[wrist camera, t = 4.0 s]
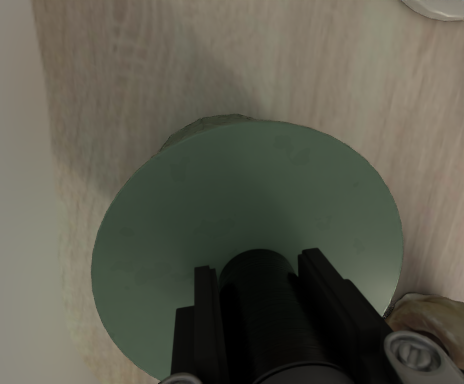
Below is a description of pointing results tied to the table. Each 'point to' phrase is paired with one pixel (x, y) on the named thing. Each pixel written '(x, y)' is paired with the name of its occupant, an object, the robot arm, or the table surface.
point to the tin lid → (245, 247)
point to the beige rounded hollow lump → (432, 322)
